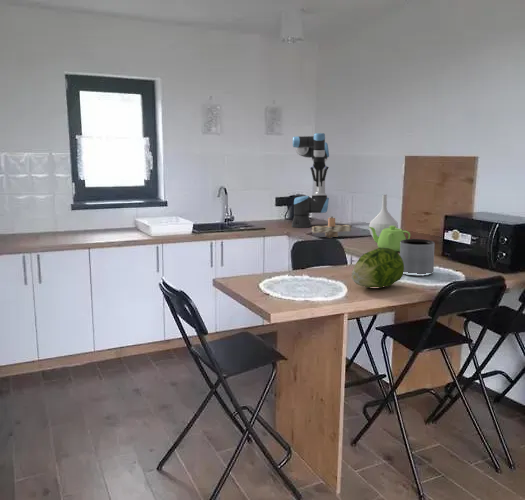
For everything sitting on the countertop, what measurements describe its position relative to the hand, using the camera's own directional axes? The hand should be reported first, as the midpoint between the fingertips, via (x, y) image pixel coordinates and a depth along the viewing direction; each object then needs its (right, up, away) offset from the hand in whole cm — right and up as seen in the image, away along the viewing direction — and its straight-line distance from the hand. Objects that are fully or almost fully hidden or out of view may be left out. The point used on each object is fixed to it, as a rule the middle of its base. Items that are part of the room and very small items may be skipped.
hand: (319, 191), depth 357 cm
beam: (+8, -32, -2) cm, 33 cm away
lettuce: (+10, -57, -131) cm, 143 cm away
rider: (+8, -26, -4) cm, 27 cm away
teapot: (+36, -40, -48) cm, 73 cm away
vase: (+40, -34, -19) cm, 56 cm away
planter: (+35, -52, -106) cm, 123 cm away
